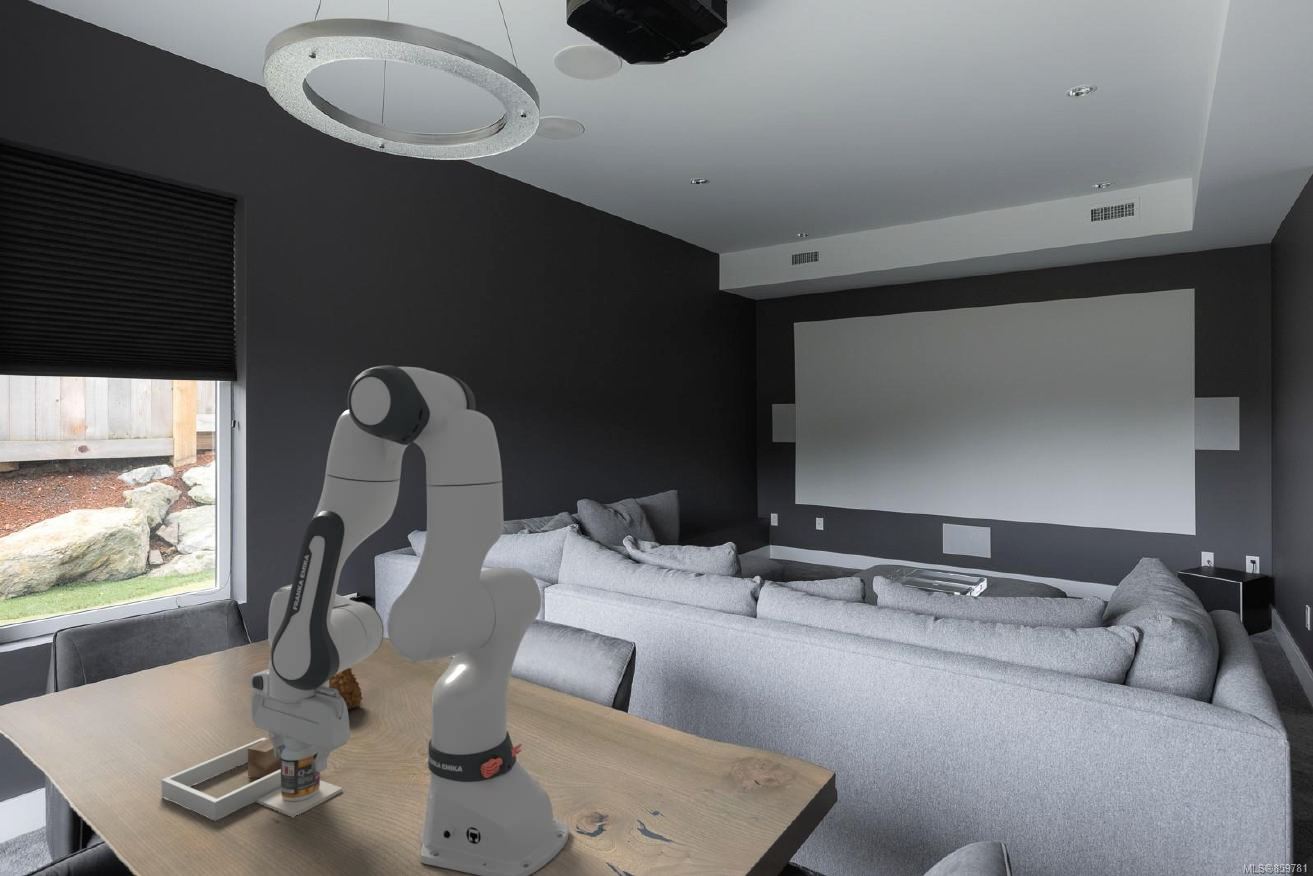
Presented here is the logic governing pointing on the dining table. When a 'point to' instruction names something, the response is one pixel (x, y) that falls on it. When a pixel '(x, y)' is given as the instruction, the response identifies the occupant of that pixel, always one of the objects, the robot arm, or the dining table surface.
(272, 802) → the coaster
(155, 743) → the dining table surface
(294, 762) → the pill bottle
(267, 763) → the walnut block
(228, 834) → the dining table surface
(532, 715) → the dining table surface
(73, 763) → the dining table surface
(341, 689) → the stuffed squirrel
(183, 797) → the tray frame
